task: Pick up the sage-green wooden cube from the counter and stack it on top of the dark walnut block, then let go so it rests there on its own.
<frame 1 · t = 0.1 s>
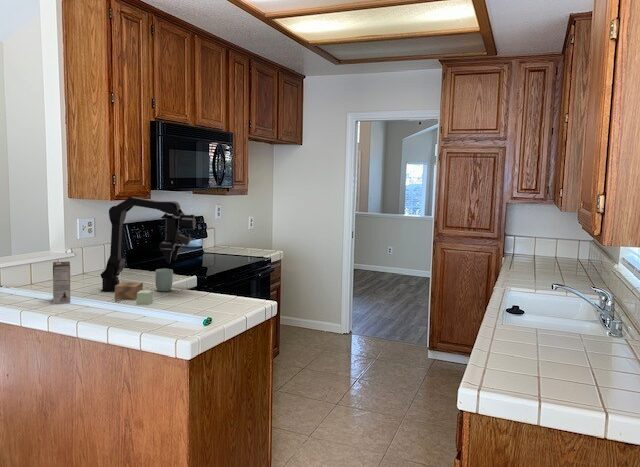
hand: (171, 261, 227), 15 cm above the worktop, tool pointing down, fingers open, 9 cm apart
cup: (163, 291, 231), on the worktop
walnut block: (128, 297, 216), on the worktop
green cube: (144, 303, 208), on the worktop
coffee box: (61, 301, 205), on the worktop
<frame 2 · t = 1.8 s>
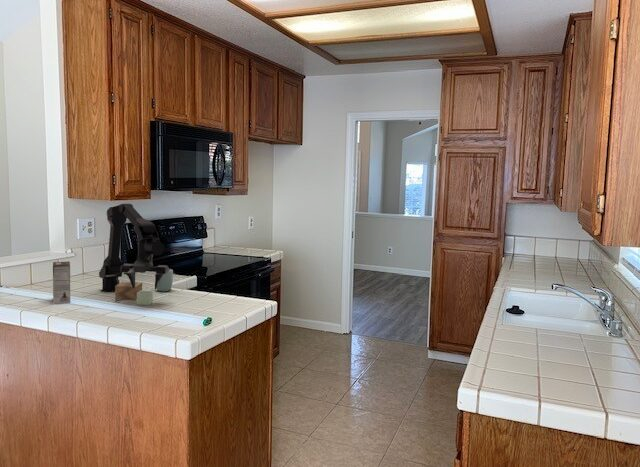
hand: (144, 288, 207), 6 cm above the worktop, tool pointing down, fingers open, 9 cm apart
nothing on the worktop moved.
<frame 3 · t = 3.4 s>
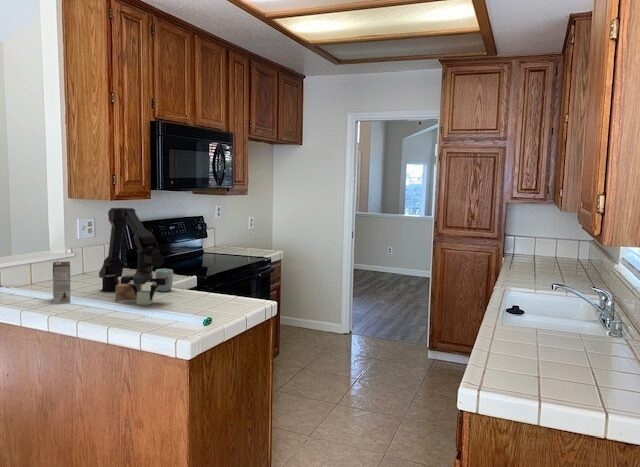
hand: (144, 300, 207), 1 cm above the worktop, tool pointing down, fingers closed on green cube, 5 cm apart
green cube: (144, 302, 208), on the worktop, touching gripper
everything else where it was.
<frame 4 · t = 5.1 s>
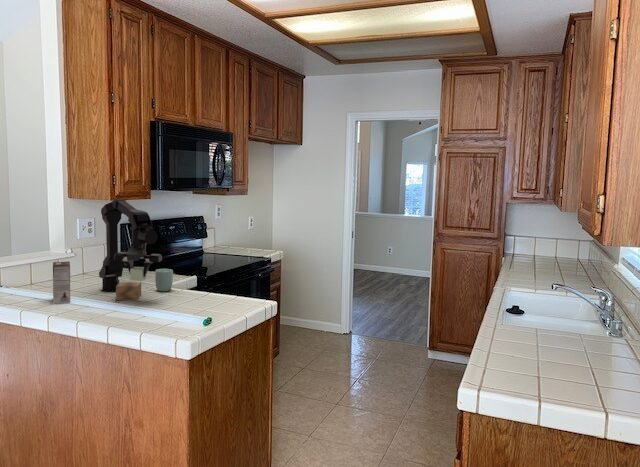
hand: (138, 276, 210), 10 cm above the worktop, tool pointing down, fingers closed on green cube, 5 cm apart
green cube: (138, 279, 210), point 9 cm above the worktop, touching gripper
everything else where it was.
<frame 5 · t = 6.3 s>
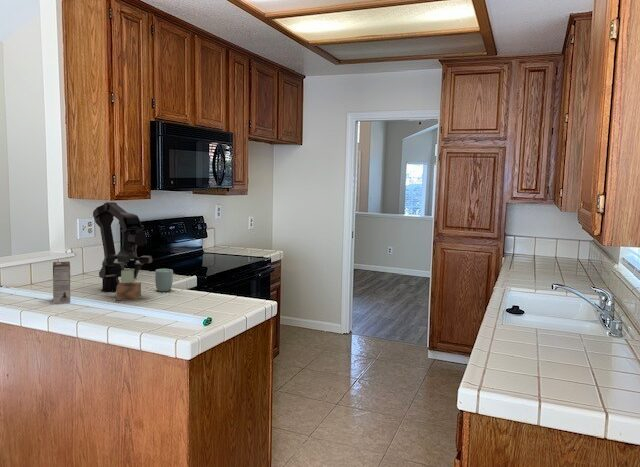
hand: (129, 278, 215), 9 cm above the worktop, tool pointing down, fingers closed on green cube, 5 cm apart
green cube: (129, 280, 216), point 7 cm above the worktop, touching gripper
everything else where it was.
when the fingers open (8 cm above the worktop, at t = 6.9 s): green cube drops 2 cm, resting on walnut block.
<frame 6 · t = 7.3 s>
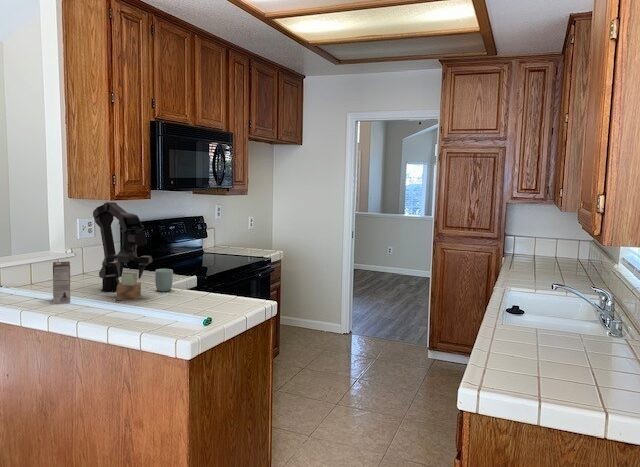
hand: (129, 278, 215), 9 cm above the worktop, tool pointing down, fingers open, 9 cm apart
walnut block: (128, 297, 216), on the worktop, touching green cube
green cube: (129, 284, 216), point 6 cm above the worktop, touching walnut block
everything else where it was.
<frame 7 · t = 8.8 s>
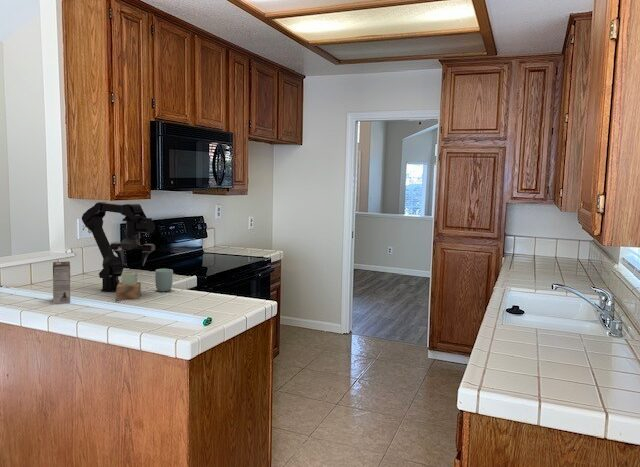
hand: (132, 265, 222), 13 cm above the worktop, tool pointing down, fingers open, 9 cm apart
walnut block: (128, 297, 216), on the worktop
green cube: (129, 284, 216), point 6 cm above the worktop
everything else where it was.
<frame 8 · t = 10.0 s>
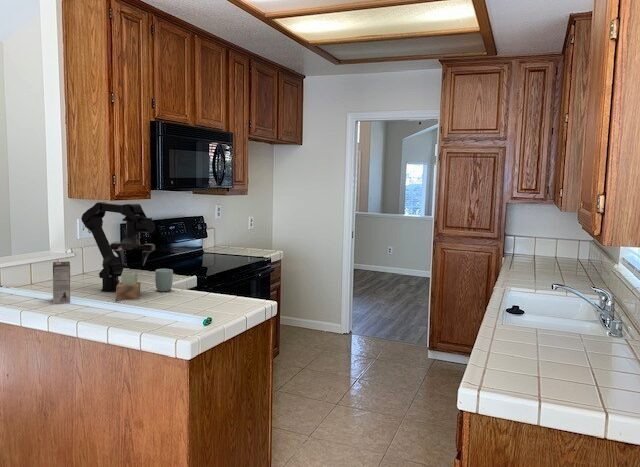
hand: (132, 265, 222), 13 cm above the worktop, tool pointing down, fingers open, 9 cm apart
walnut block: (128, 297, 216), on the worktop, touching green cube
green cube: (129, 284, 216), point 6 cm above the worktop, touching walnut block
everything else where it was.
at the end: green cube 0.4 cm off-centre on the walnut block, point 6.0 cm above the walnut block's base; green cube touching walnut block; the gripper is holding nothing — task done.
